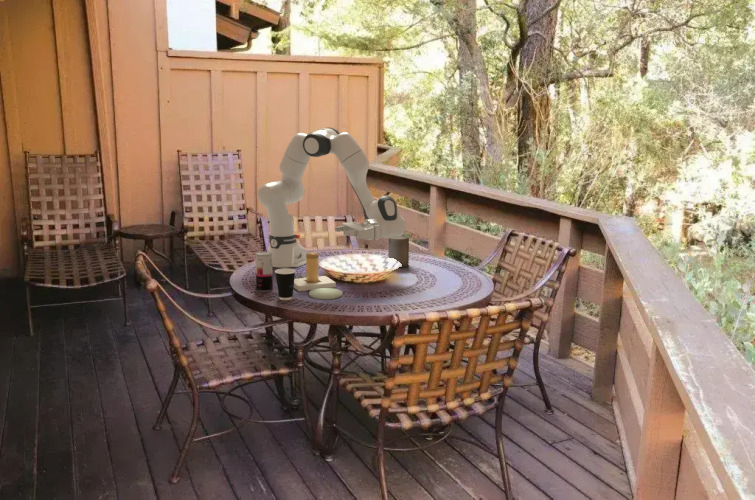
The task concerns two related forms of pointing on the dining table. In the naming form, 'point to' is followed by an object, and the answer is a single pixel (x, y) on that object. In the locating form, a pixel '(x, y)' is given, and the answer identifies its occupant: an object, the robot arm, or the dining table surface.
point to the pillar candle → (399, 249)
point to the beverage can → (264, 271)
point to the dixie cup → (285, 283)
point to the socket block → (323, 283)
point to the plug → (312, 268)
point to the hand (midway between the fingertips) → (339, 231)
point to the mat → (325, 293)
